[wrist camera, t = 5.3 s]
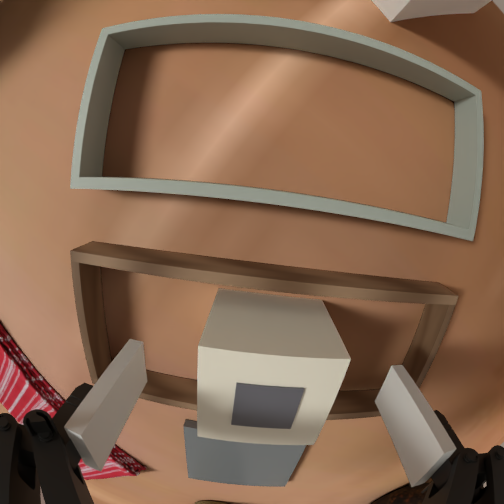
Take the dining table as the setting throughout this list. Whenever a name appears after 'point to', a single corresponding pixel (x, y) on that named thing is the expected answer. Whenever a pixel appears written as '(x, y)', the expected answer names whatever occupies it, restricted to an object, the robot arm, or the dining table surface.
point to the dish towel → (46, 404)
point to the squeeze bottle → (209, 502)
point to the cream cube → (267, 369)
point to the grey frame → (293, 37)
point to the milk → (426, 8)
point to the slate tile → (238, 460)
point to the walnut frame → (253, 277)
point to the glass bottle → (405, 495)
